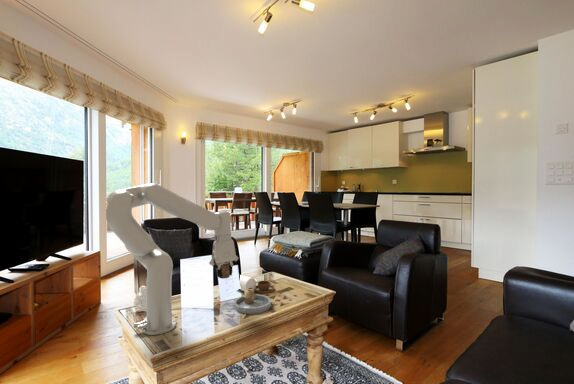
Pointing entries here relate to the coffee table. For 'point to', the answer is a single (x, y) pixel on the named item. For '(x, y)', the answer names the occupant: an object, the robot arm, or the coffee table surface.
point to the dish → (258, 306)
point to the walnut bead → (225, 270)
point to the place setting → (263, 287)
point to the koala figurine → (141, 299)
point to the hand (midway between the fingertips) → (224, 275)
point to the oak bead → (249, 296)
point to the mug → (247, 282)
